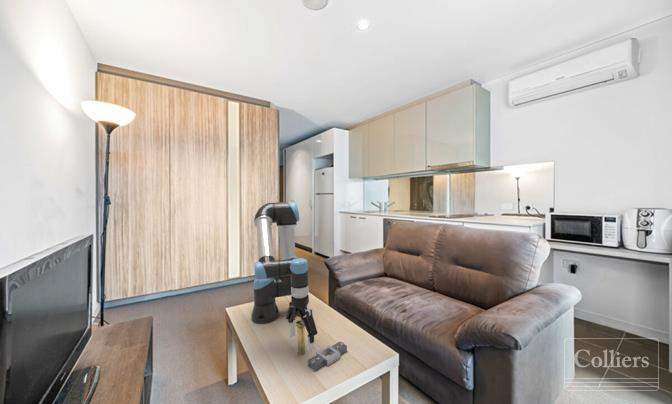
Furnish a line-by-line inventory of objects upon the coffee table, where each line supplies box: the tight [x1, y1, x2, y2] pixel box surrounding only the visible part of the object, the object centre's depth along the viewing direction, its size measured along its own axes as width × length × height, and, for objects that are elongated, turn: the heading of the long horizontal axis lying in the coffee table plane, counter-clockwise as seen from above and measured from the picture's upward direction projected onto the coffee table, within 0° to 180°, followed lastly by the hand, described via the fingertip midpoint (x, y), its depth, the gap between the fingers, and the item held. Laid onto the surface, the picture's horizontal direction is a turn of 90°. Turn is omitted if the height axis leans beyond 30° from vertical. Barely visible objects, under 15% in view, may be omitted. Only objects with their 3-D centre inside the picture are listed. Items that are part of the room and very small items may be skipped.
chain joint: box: [307, 341, 348, 372], centre depth 108 cm, size 18×7×3 cm, turn 133°
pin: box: [295, 319, 306, 356], centre depth 112 cm, size 4×4×14 cm
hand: (301, 342), depth 112 cm, fingers open, 13 cm apart
